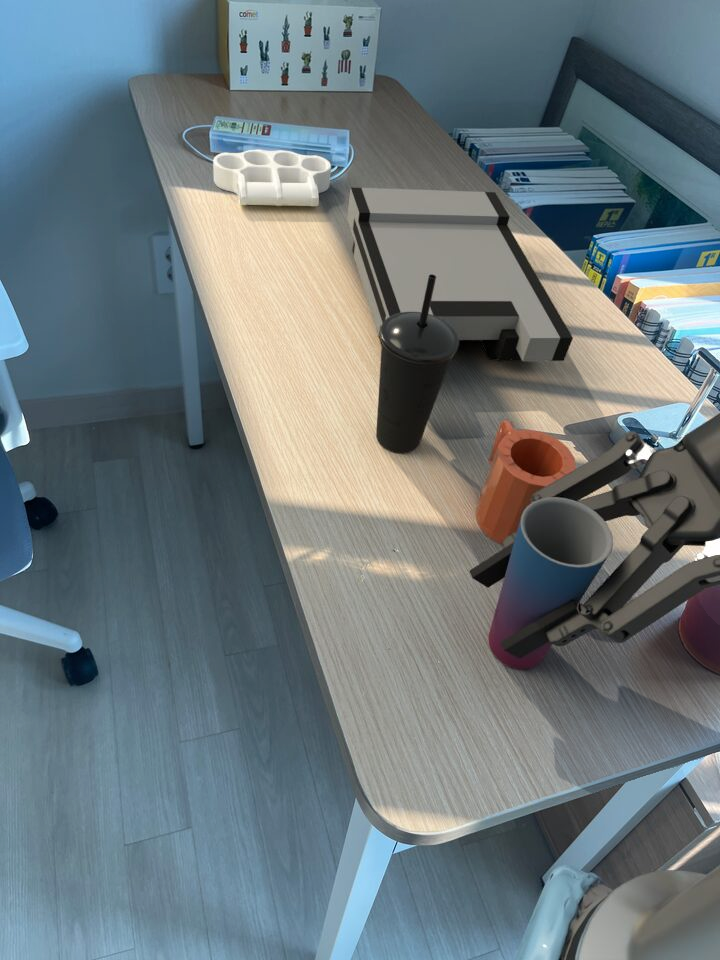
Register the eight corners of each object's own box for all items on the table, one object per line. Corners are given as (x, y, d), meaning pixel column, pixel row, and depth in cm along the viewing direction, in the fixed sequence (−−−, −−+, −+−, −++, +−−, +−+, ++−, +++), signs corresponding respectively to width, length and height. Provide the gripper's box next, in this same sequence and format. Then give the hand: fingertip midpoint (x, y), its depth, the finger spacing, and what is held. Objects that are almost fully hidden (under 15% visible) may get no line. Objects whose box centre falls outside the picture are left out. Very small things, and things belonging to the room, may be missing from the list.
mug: (558, 542, 74) (589, 481, 68) (491, 552, 72) (516, 490, 66) (517, 467, 81) (541, 404, 74) (455, 475, 79) (474, 411, 72)
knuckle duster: (217, 211, 110) (211, 164, 120) (338, 212, 114) (323, 167, 123) (217, 188, 108) (210, 143, 117) (341, 191, 112) (325, 147, 121)
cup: (566, 635, 67) (624, 522, 56) (539, 693, 63) (597, 582, 52) (496, 599, 69) (539, 484, 58) (465, 653, 65) (506, 539, 54)
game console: (387, 388, 87) (398, 329, 81) (344, 242, 108) (350, 187, 102) (554, 384, 91) (576, 329, 86) (481, 244, 112) (495, 192, 107)
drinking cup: (400, 404, 86) (433, 245, 71) (447, 444, 82) (492, 285, 68) (348, 430, 82) (372, 267, 67) (395, 473, 78) (431, 310, 64)
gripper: (673, 340, 57) (431, 507, 65) (842, 536, 45) (519, 714, 53) (701, 388, 62) (474, 538, 70) (858, 576, 50) (563, 732, 58)
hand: (494, 613), depth 61 cm, fingers closed on cup, 6 cm apart
